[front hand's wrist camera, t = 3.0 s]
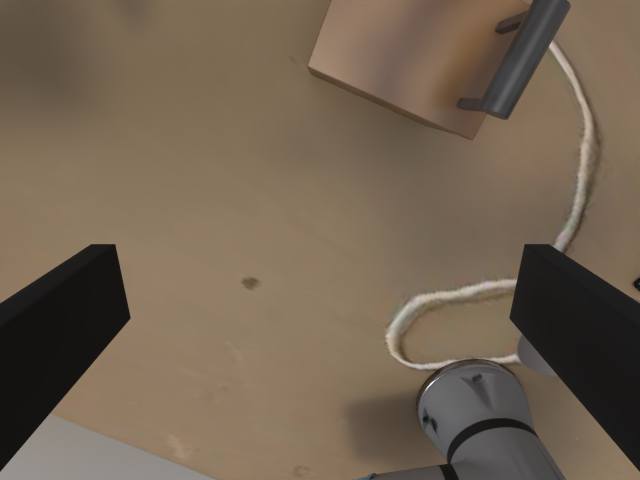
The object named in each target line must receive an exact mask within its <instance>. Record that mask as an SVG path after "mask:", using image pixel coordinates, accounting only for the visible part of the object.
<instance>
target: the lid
mask: <svg viewBox="0 0 640 480" xmlns="http://www.w3.org/2000/svg"><path fill="white" fill-rule="evenodd" d="M570 6H571V5H570V3H569V2H568V1H567V0H533V1H532V3H531V5H530V4H528V3H526V2H524V1H522V0H331V1H330V4H329V7H328V10H327V12H326V15H325V18H324V21H323V23H322V26H321V29H320V32H319V35H318V37H317V40H316V43H315V46H314V48H313V51H312V54H311V57H310V59H309V62H308V65H307V67H308V68H310V69H312V70H314V71H317V72H319V73H321V74H323V75H326V76H328V77H330V78H332V79H335V80H337V81H339V82H341V83H343V84H346V85H348V86H350V87H352V88H355V89H357V90H359V91H361V92H364V93H366V94H368V95H370V96H372V97H375V98H377V99H379V100H381V101H384V102H386V103H388V104H390V105H393V106H395V107H397V108H399V109H401V110H404V111H406V112H408V113H410V114H413V115H415V116H417V117H419V118H422V119H424V120H426V121H428V122H431V123H433V124H435V125H437V126H439V127H442V128H444V129H446V130H448V131H451V132H453V133H455V134H457V135H460V136H462V137H464V138H466V139H469V140H473V139H474V137H475V135H476V133H477V131H478V129H479V127H480V126H481V124H482V122H483V120H484V118H485V116H486V114H489V115H492V116H494V117H497V118H500V119H504V120H507V119H508V118H509V116H510V114H511V113H512V111H513V109H514V107H515V106H516V104H517V102H518V100H519V98H520V97H521V95H522V93H523V91H524V90H525V88H526V86H527V84H528V82H529V81H530V79H531V77H532V75H533V73H534V72H535V70H536V68H537V66H538V65H539V63H540V61H541V59H542V57H543V56H544V54H545V52H546V50H547V49H548V47H549V45H550V43H551V41H552V40H553V38H554V36H555V34H556V32H557V31H558V29H559V27H560V25H561V24H562V22H563V20H564V18H565V16H566V15H567V13H568V11H569V9H570Z"/></svg>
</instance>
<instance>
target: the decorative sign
mask: <svg viewBox="0 0 640 480" xmlns="http://www.w3.org/2000/svg"><path fill="white" fill-rule="evenodd" d="M634 286H635V287H636V288H637V289H638V290H639V291H640V279H639V280H637V281H636V282H635V284H634Z"/></svg>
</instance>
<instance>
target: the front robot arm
mask: <svg viewBox="0 0 640 480" xmlns="http://www.w3.org/2000/svg"><path fill="white" fill-rule="evenodd" d="M129 320H130V313H129V308H128V303H127V299H126V294H125V289H124V284H123V279H122V275H121V270H120V265H119V260H118V255H117V251H116V246H115V244H91V245H89V246H88V247H86V248H85V249H83V250H82V251H80V252H79V253H77V254H76V255H74V256H73V257H71V258H69V259H68V260H66V261H65V262H63V263H62V264H60V265H59V266H57V267H56V268H54V269H53V270H51V271H49V272H48V273H46V274H45V275H43V276H42V277H40V278H39V279H37V280H36V281H34V282H33V283H31V284H30V285H28V286H26V287H25V288H23V289H22V290H20V291H19V292H17V293H16V294H14V295H13V296H11V297H10V298H8V299H6V300H5V301H3V302H2V303H0V471H1V470H2V469H3V468H4V467H5V465H6V464H7V463H8V462H9V461H10V460H11V458H12V457H13V456H14V455H15V454H16V452H17V451H18V450H19V449H20V448H21V447H22V445H23V444H24V443H25V442H26V441H27V440H28V438H29V437H30V436H31V435H32V434H33V433H34V431H35V430H36V429H37V428H38V427H39V425H40V424H41V423H42V422H43V421H44V420H45V418H46V417H47V416H48V415H49V414H50V413H51V411H52V410H53V409H54V408H55V407H56V405H57V404H58V403H59V402H60V401H61V400H62V398H63V397H64V396H65V395H66V394H67V393H68V391H69V390H70V389H71V388H72V387H73V385H74V384H75V383H76V382H77V381H78V380H79V378H80V377H81V376H82V375H83V374H84V373H85V371H86V370H87V369H88V368H89V367H90V365H91V364H92V363H93V362H94V361H95V360H96V358H97V357H98V356H99V355H100V354H101V353H102V351H103V350H104V349H105V348H106V347H107V345H108V344H109V343H110V342H111V341H112V340H113V338H114V337H115V336H116V335H117V334H118V333H119V331H120V330H121V329H122V328H123V327H124V325H125V324H126V323H127V322H128V321H129ZM510 320H511V321H512V322H513V323H514V324H515V325H516V327H517V328H518V329H519V330H520V331H521V333H522V334H523V335H524V336H525V337H526V338H527V340H528V341H529V342H530V343H531V344H532V345H533V347H534V348H535V349H536V350H537V351H538V353H539V354H540V355H541V356H542V357H543V358H544V360H545V361H546V362H547V363H548V364H549V365H550V367H551V368H552V369H553V370H554V371H555V373H556V374H557V375H558V376H559V377H560V378H561V380H562V381H563V382H564V383H565V384H566V385H567V387H568V388H569V389H570V390H571V391H572V393H573V394H574V395H575V396H576V397H577V398H578V400H579V401H580V402H581V403H582V404H583V405H584V407H585V408H586V409H587V410H588V411H589V413H590V414H591V415H592V416H593V417H594V418H595V420H596V421H597V422H598V423H599V424H600V425H601V427H602V428H603V429H604V430H605V431H606V433H607V434H608V435H609V436H610V437H611V438H612V440H613V441H614V442H615V443H616V444H617V445H618V447H619V448H620V449H621V450H622V451H623V453H624V454H625V455H626V456H627V457H628V458H629V460H630V461H631V462H632V463H633V464H634V465H635V467H636V468H637V469H638V470H639V471H640V303H638V302H637V301H635V300H634V299H632V298H630V297H629V296H627V295H626V294H624V293H623V292H621V291H620V290H618V289H617V288H615V287H614V286H612V285H610V284H609V283H607V282H606V281H604V280H603V279H601V278H600V277H598V276H597V275H595V274H594V273H592V272H591V271H589V270H587V269H586V268H584V267H583V266H581V265H580V264H578V263H577V262H575V261H574V260H572V259H571V258H569V257H567V256H566V255H564V254H563V253H561V252H560V251H558V250H557V249H555V248H554V247H552V246H551V245H549V244H525V246H524V251H523V255H522V260H521V265H520V270H519V275H518V279H517V284H516V289H515V294H514V299H513V303H512V308H511V313H510ZM416 407H417V414H418V417H419V420H420V423H421V426H422V428H423V430H424V431H425V433H426V435H427V436H428V437H429V439H430V440H431V441H432V443H433V444H434V445H435V446H436V448H437V449H438V450H439V452H440V453H441V454H442V456H443V457H444V458H445V459H446V461H447V463H448V464H444V465H437V466H430V467H424V468H417V469H410V470H403V471H396V472H390V473H383V474H375V473H372V474H370V475H368V476H367V477H363V478H358V479H354V480H566V479H565V477H564V475H563V474H562V472H561V471H560V469H559V468H558V466H557V465H556V463H555V462H554V460H553V459H552V457H551V456H550V454H549V452H548V451H547V449H546V448H545V446H544V445H543V443H542V442H541V440H540V439H539V437H538V436H537V434H536V432H535V431H534V427H533V423H532V418H531V414H530V410H529V405H528V401H527V397H526V394H525V392H524V390H523V388H522V386H521V384H520V383H519V381H518V380H517V379H516V377H515V376H514V375H513V373H512V372H510V371H509V370H508V369H507V368H505V367H504V366H502V365H500V364H497V363H494V362H491V361H486V360H466V361H461V362H457V363H454V364H451V365H449V366H446V367H444V368H442V369H441V370H439V371H438V372H436V373H435V374H434V375H432V376H431V377H430V378H429V379H428V380H427V381H426V382H425V384H424V385H423V387H422V388H421V390H420V392H419V395H418V398H417V405H416Z"/></svg>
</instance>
